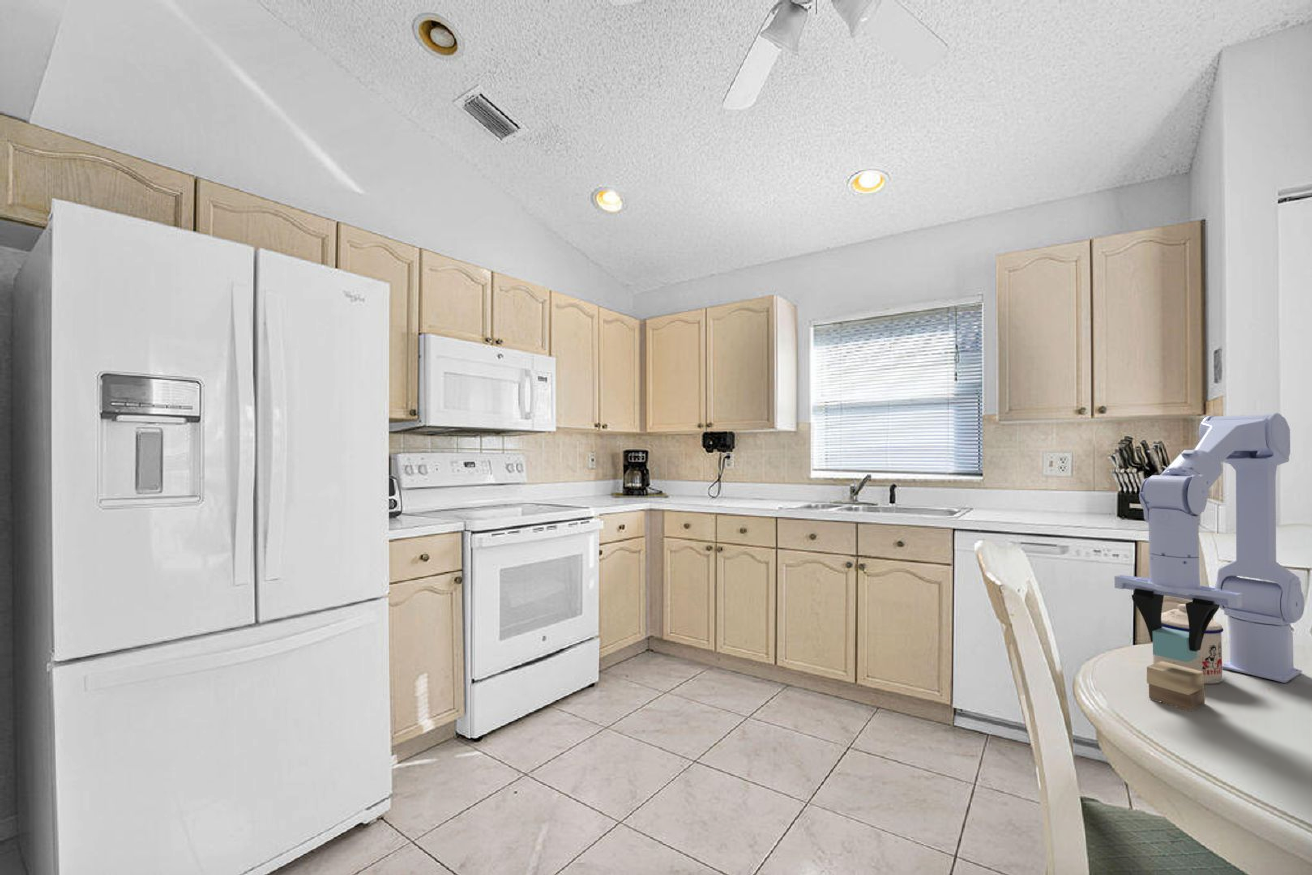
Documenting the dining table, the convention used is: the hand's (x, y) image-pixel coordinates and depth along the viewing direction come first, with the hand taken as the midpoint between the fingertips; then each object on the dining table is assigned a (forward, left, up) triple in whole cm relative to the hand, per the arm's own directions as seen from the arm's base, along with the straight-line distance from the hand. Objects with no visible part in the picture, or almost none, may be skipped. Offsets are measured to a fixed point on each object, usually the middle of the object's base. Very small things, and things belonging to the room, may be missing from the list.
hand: (1175, 645), depth 89 cm
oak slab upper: (0, 0, -6) cm, 6 cm away
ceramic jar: (-17, -3, -8) cm, 19 cm away
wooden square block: (0, 0, -8) cm, 9 cm away
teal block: (0, 0, -2) cm, 2 cm away
